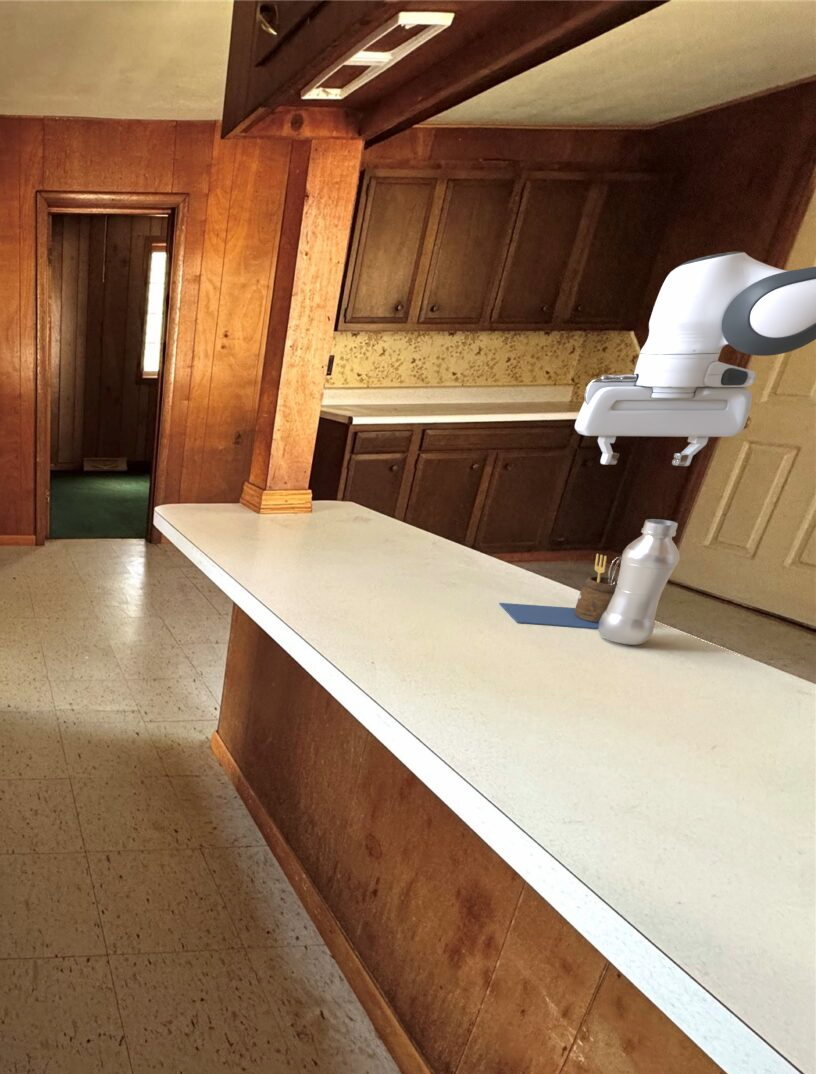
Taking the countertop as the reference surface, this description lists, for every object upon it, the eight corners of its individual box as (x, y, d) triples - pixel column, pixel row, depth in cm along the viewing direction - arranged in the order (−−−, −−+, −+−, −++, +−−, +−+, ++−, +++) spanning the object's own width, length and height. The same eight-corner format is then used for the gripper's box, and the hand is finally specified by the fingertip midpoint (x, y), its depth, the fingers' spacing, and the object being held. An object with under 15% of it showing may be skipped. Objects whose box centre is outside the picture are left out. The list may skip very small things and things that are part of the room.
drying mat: (602, 611, 119) (603, 609, 118) (628, 631, 111) (629, 630, 110) (499, 604, 123) (499, 602, 123) (517, 623, 115) (517, 621, 115)
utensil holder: (626, 621, 113) (648, 555, 109) (599, 627, 112) (620, 560, 107) (589, 609, 119) (609, 545, 114) (563, 614, 117) (582, 550, 113)
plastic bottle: (584, 632, 111) (621, 516, 104) (629, 633, 110) (670, 516, 103) (611, 649, 105) (652, 527, 98) (659, 650, 104) (703, 528, 97)
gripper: (600, 376, 101) (574, 466, 106) (772, 373, 95) (736, 469, 100) (580, 373, 106) (557, 460, 111) (742, 371, 100) (709, 462, 105)
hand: (643, 464), depth 105 cm, fingers open, 8 cm apart
